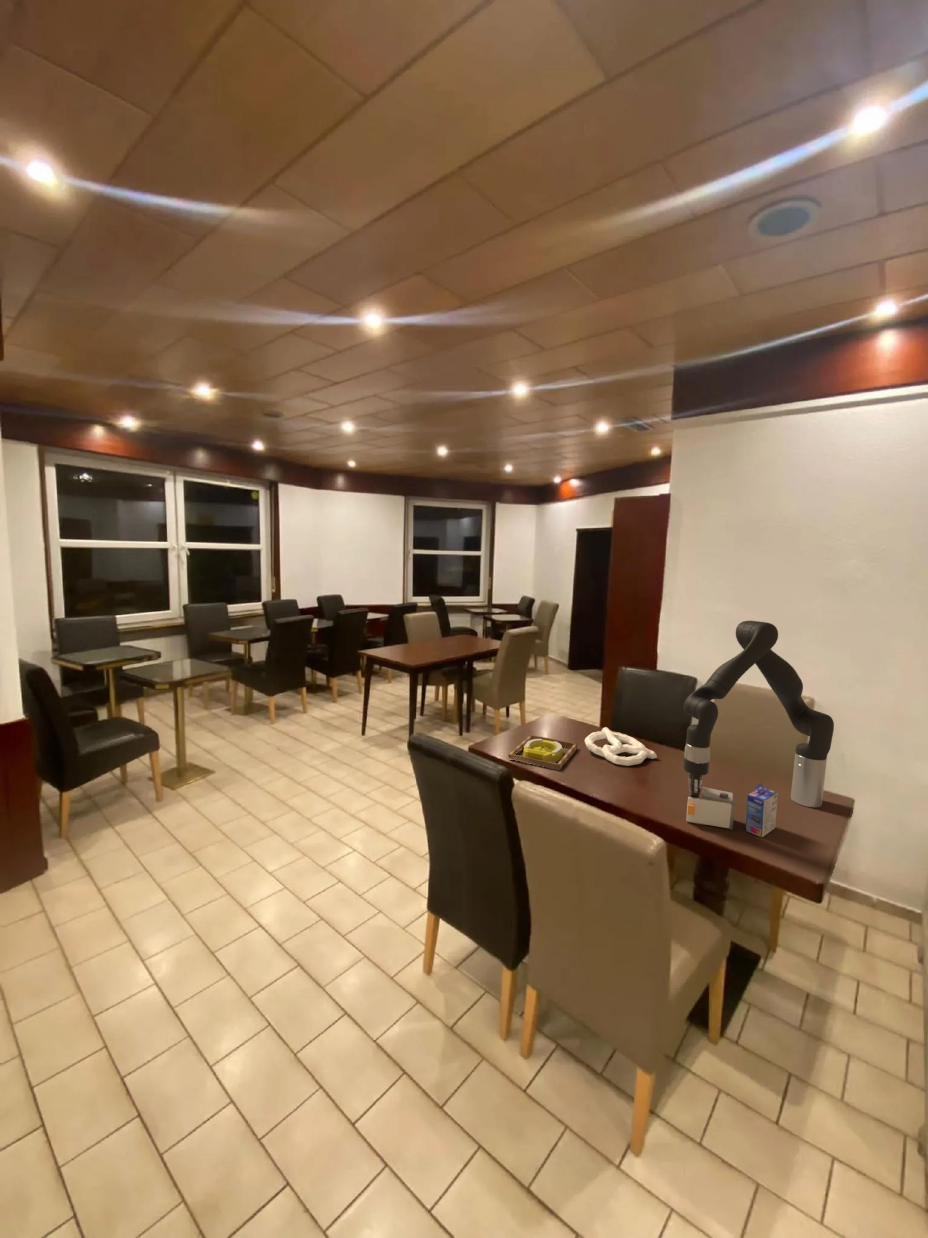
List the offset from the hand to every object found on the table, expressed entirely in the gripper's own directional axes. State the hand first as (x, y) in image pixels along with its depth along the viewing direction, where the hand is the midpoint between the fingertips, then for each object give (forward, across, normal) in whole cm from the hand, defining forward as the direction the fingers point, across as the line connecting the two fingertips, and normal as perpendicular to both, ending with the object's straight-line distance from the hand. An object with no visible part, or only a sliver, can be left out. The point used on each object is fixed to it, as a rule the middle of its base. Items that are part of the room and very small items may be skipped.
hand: (693, 807), depth 168 cm
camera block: (+4, -1, +7) cm, 8 cm away
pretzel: (+5, -47, -28) cm, 55 cm away
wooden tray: (+4, -34, -58) cm, 67 cm away
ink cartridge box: (+4, -1, +20) cm, 20 cm away
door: (+3, +4, +5) cm, 7 cm away
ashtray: (+5, -32, -58) cm, 66 cm away
